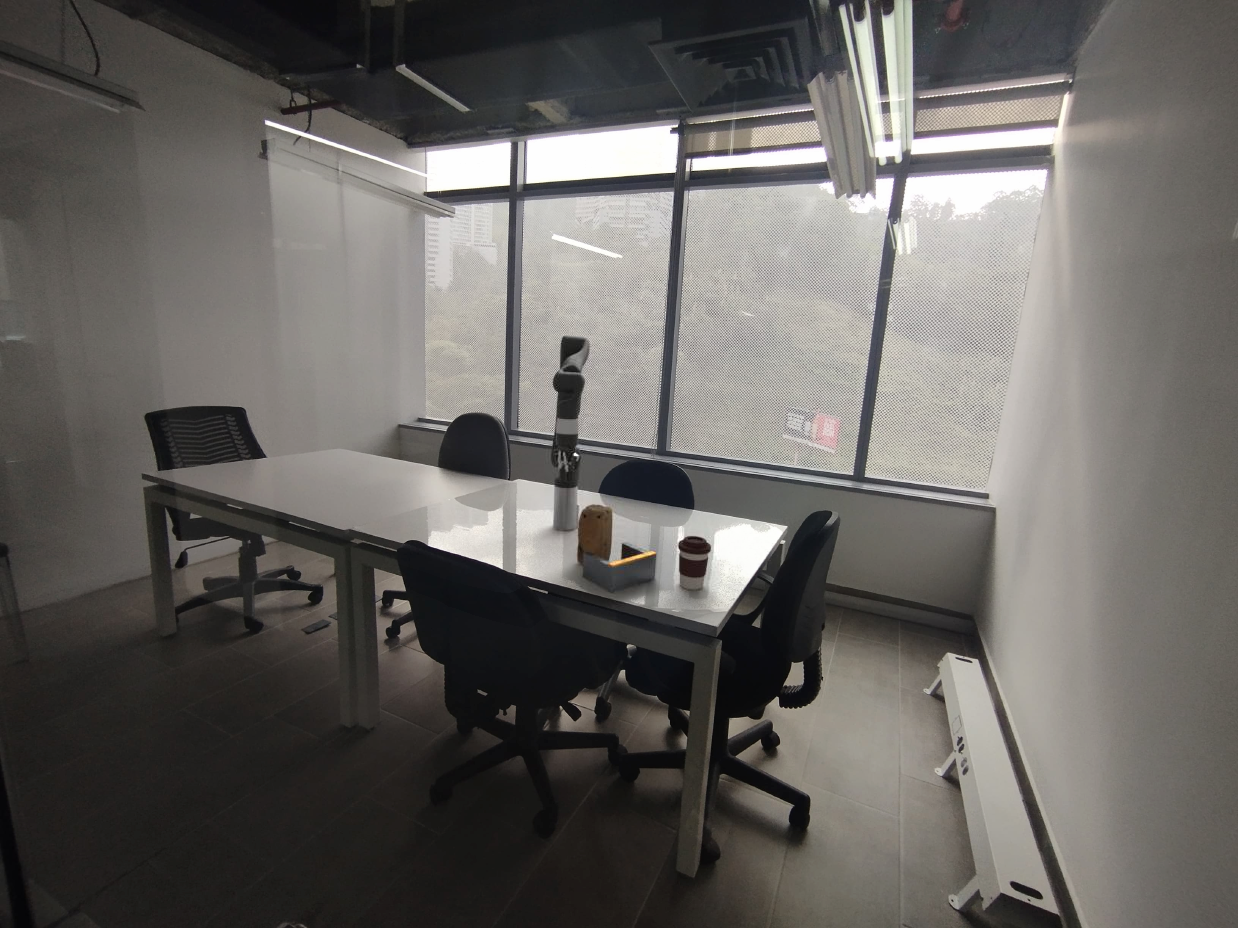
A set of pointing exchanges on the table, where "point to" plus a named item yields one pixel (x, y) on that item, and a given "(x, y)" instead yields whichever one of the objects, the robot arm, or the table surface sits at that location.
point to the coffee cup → (693, 561)
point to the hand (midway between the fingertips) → (565, 480)
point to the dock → (620, 568)
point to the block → (595, 532)
